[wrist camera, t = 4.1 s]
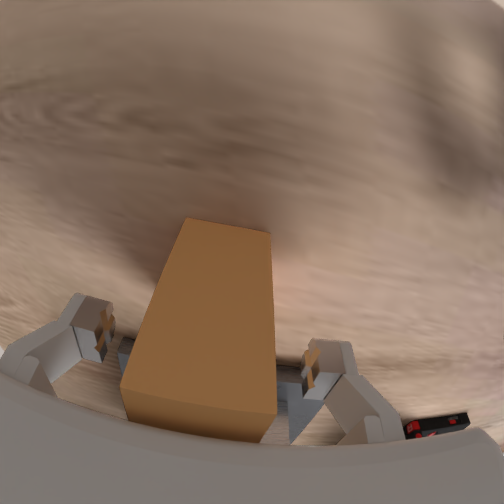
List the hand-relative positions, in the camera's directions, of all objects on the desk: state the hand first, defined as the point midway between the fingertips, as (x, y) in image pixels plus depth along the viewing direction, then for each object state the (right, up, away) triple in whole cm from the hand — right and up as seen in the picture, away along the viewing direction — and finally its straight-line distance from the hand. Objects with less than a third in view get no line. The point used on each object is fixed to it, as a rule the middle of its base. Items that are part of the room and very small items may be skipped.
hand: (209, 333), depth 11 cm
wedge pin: (0, +2, +3) cm, 4 cm away
